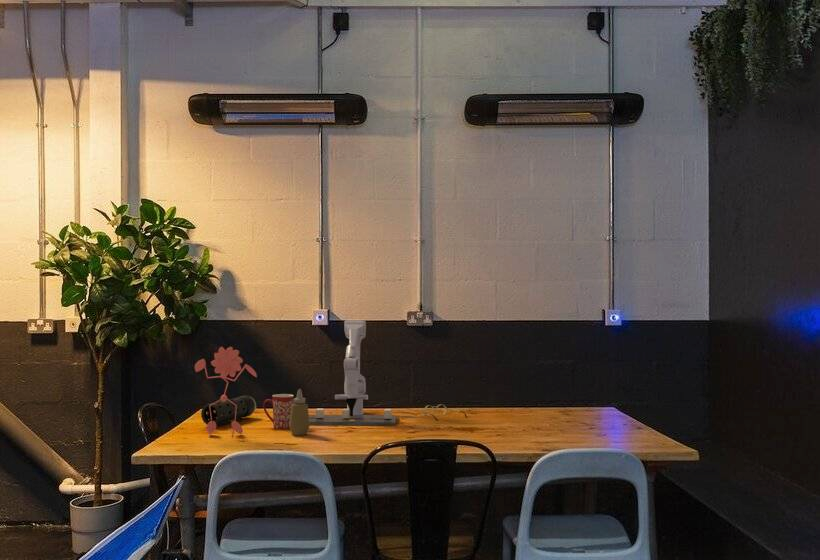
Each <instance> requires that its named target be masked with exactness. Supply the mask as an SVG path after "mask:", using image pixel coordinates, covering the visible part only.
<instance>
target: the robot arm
mask: <svg viewBox="0 0 820 560" xmlns="http://www.w3.org/2000/svg"><path fill="white" fill-rule="evenodd" d="M343 326H344V327H343V328H344V334H345V338H347V339H348V341H349V343H348V345H347V346H346V349H345V358H344V359H343V369H344V383H343V384H344V385H343V386H344V387H343V388H344V389H343V391H344V394H342V393H341V394H335V395H334V400H346V401H345V402H346V405H347V406H346V407H347V408H346V409H350V416H353V415H365V413H366V412H365V411H364V410H363V408H364V406H363V405H364V402H363V401H364V400H365V401H366V400H369V395H368V394H366V389H367V387H366V386H367V384H366V378H365V376H363V374H361V343H362V340H363V339H365V338H366V335H367V334H366V332H367V330H366V329H367V328H366V327H367V322H366V320H365V319H362V320H359V319H358V320H355V319H354V320H352V319H349V320H347V319H346V320H345V321H344V325H343Z"/></svg>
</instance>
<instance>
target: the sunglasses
mask: <svg viewBox="0 0 820 560" xmlns="http://www.w3.org/2000/svg"><path fill="white" fill-rule="evenodd" d="M441 405H442V406H443V407H444V411H443V413H442V415H445V414H446V412H447V410H449V411H453V412H458V413H459V412H460V413H463V414H464V416H465V417H464V418H466V419H467V418H468V416H467V414H466V412H465V411H462V410H458V409H453V408H448V407H446V405H444V404H443V403H441V404H438V405H437V406H435V405H434V406H432V405H426V406H425V407H424V409H423V410H421V412H422V413H423V414H424V416H428V415H430V416H432V417H433V418H434V419H435V420H436V422H437V421H439V419H438V418H437V417H436V416H435V415H434V414H433V413H434V408H436V409H435V412H436V413H437V414H439V411H438V407H440V406H441ZM429 406H430V407H431V409H432V411H431V413H429V412H427V411H426V410H427V408H428V407H429Z"/></svg>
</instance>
